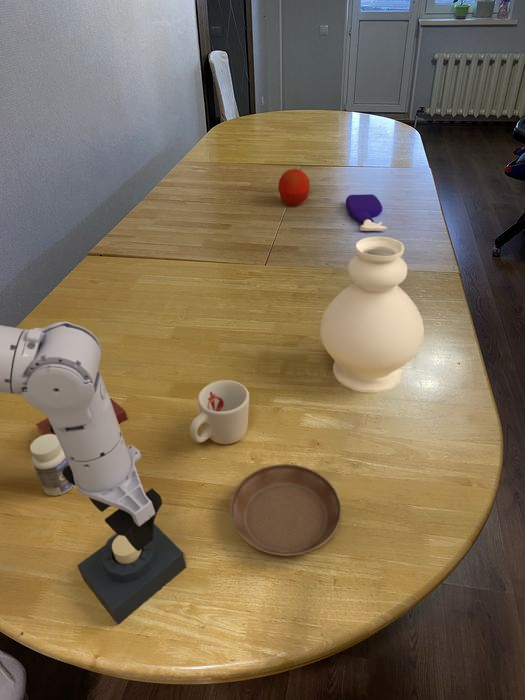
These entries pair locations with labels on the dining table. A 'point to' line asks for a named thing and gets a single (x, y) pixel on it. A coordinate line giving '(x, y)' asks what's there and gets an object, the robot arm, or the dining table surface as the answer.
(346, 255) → the dining table surface
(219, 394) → the cup
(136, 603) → the dark knob button block
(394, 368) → the decorative vase
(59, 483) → the pill bottle
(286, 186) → the apple
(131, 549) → the cylindrical peg
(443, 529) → the dining table surface
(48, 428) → the red socket plate
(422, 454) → the dining table surface
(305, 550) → the saucer
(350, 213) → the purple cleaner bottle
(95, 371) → the robot arm
